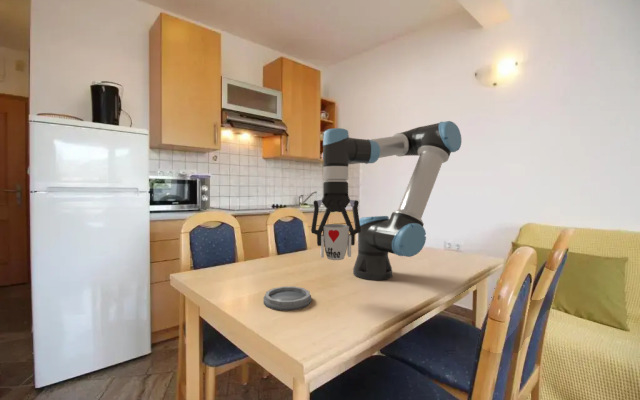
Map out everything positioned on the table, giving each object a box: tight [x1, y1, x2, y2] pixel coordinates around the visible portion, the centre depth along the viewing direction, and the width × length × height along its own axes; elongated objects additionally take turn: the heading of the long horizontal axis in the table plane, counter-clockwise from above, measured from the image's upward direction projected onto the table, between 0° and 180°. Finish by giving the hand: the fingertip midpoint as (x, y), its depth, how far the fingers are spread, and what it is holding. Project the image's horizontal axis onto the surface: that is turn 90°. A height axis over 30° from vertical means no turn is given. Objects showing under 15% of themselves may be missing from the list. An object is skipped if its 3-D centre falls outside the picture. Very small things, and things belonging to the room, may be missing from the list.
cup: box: [322, 223, 350, 261], centre depth 89 cm, size 8×8×10 cm
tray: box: [263, 285, 312, 312], centre depth 87 cm, size 14×14×2 cm
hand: (335, 256), depth 89 cm, fingers closed on cup, 8 cm apart
